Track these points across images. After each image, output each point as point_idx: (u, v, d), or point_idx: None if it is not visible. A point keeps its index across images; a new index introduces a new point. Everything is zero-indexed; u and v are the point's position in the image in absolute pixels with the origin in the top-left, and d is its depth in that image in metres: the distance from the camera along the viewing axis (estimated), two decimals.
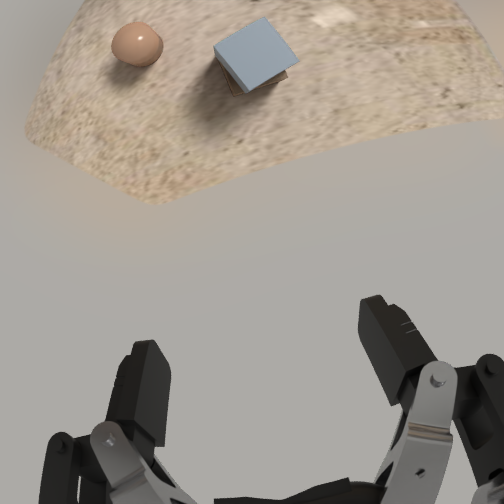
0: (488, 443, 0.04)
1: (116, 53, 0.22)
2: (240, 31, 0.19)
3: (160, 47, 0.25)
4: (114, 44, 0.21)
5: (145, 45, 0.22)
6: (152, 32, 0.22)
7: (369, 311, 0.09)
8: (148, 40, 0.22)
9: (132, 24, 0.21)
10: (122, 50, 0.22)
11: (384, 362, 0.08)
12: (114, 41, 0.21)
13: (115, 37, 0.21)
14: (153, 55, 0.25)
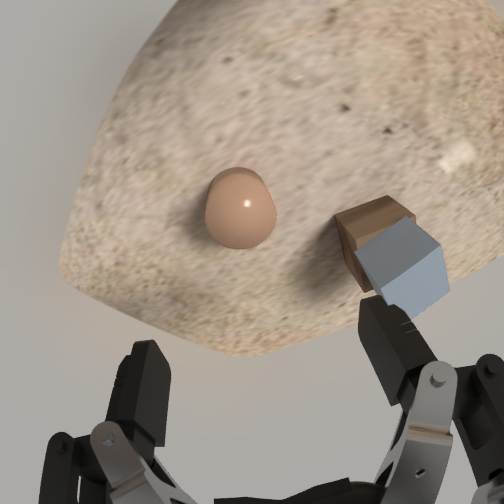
0: (488, 443, 0.04)
1: (215, 234, 0.20)
2: (413, 268, 0.17)
3: None
4: (210, 217, 0.19)
5: (262, 228, 0.20)
6: (273, 208, 0.20)
7: (369, 311, 0.09)
8: (267, 221, 0.20)
9: (239, 187, 0.19)
10: (224, 229, 0.20)
11: (384, 362, 0.08)
12: (209, 212, 0.19)
13: (210, 205, 0.19)
14: None
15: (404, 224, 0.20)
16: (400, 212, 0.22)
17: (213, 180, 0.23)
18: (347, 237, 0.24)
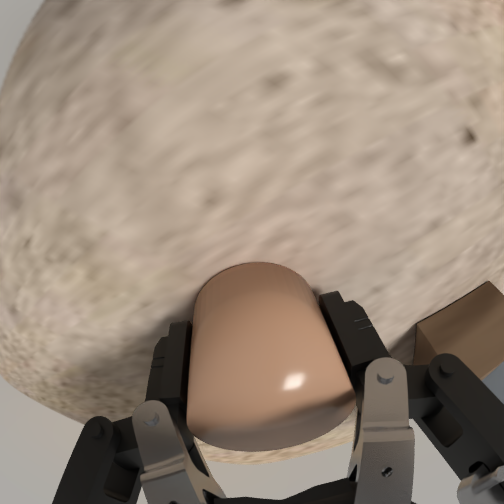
0: (459, 440, 0.05)
1: (213, 441, 0.07)
2: None
3: None
4: (200, 425, 0.07)
5: (318, 427, 0.08)
6: (352, 400, 0.07)
7: (325, 306, 0.10)
8: (332, 418, 0.07)
9: (278, 382, 0.06)
10: (235, 437, 0.07)
11: None
12: (197, 420, 0.07)
13: (199, 412, 0.06)
14: None
15: None
16: None
17: (203, 291, 0.10)
18: None
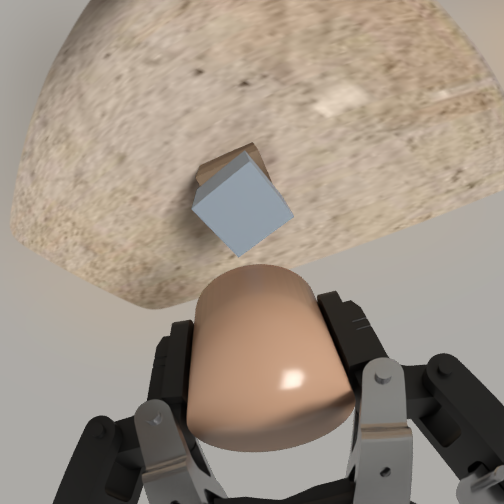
0: (458, 440, 0.05)
1: (213, 441, 0.08)
2: (221, 186, 0.20)
3: None
4: (199, 426, 0.07)
5: (318, 429, 0.08)
6: (351, 401, 0.07)
7: (323, 306, 0.10)
8: (331, 420, 0.07)
9: (277, 384, 0.06)
10: (235, 438, 0.07)
11: None
12: (197, 421, 0.07)
13: (199, 413, 0.07)
14: None
15: (238, 157, 0.23)
16: (248, 151, 0.25)
17: (204, 293, 0.10)
18: None
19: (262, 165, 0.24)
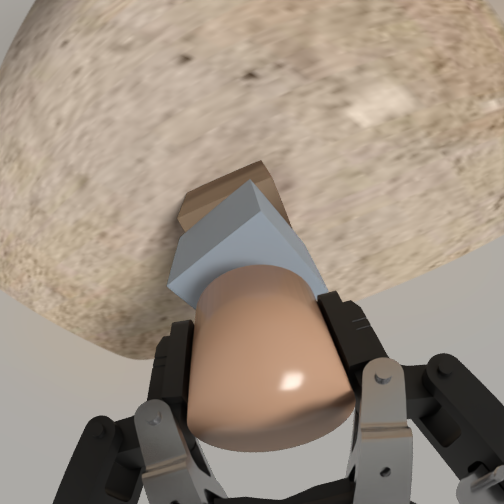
0: (458, 440, 0.05)
1: (214, 441, 0.08)
2: (212, 253, 0.12)
3: None
4: (200, 426, 0.07)
5: (318, 429, 0.08)
6: (352, 402, 0.07)
7: (323, 306, 0.10)
8: (332, 420, 0.07)
9: (277, 384, 0.06)
10: (235, 438, 0.07)
11: None
12: (198, 421, 0.07)
13: (199, 413, 0.07)
14: None
15: (240, 191, 0.15)
16: (255, 176, 0.17)
17: (204, 293, 0.10)
18: None
19: (277, 200, 0.16)
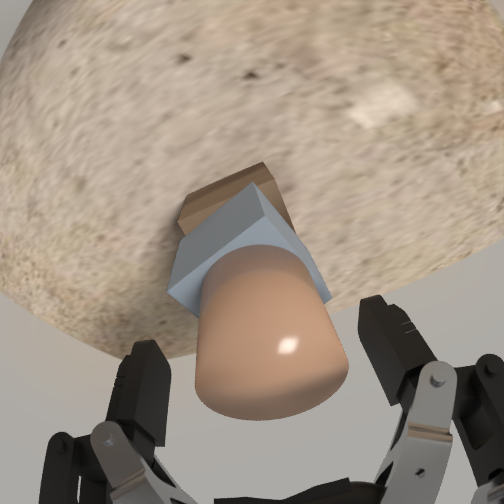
0: (488, 443, 0.04)
1: (218, 407, 0.09)
2: (214, 259, 0.12)
3: None
4: (206, 388, 0.08)
5: (315, 394, 0.09)
6: (345, 365, 0.08)
7: (369, 311, 0.09)
8: (327, 385, 0.09)
9: (277, 341, 0.07)
10: (238, 402, 0.09)
11: (384, 362, 0.08)
12: (205, 382, 0.08)
13: (206, 373, 0.08)
14: None
15: (243, 194, 0.15)
16: (257, 178, 0.16)
17: (210, 271, 0.12)
18: None
19: (280, 203, 0.16)
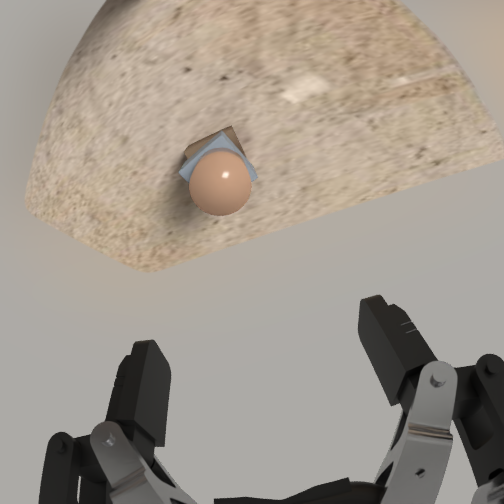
0: (488, 443, 0.04)
1: (198, 201, 0.23)
2: (200, 154, 0.25)
3: None
4: (193, 186, 0.22)
5: (239, 196, 0.23)
6: (249, 178, 0.22)
7: (369, 311, 0.09)
8: (244, 189, 0.23)
9: (219, 159, 0.21)
10: (206, 197, 0.23)
11: (384, 362, 0.08)
12: (193, 182, 0.22)
13: (194, 176, 0.22)
14: None
15: (216, 135, 0.29)
16: (225, 130, 0.30)
17: (199, 159, 0.25)
18: None
19: (236, 141, 0.30)
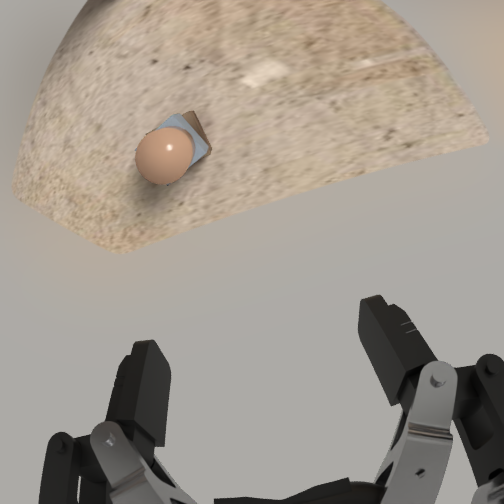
0: (488, 443, 0.04)
1: (142, 170, 0.23)
2: None
3: (193, 155, 0.27)
4: (139, 157, 0.23)
5: (179, 166, 0.23)
6: (188, 149, 0.23)
7: (369, 311, 0.09)
8: (183, 160, 0.23)
9: (161, 132, 0.22)
10: (150, 167, 0.23)
11: (384, 362, 0.08)
12: (138, 153, 0.22)
13: (139, 147, 0.22)
14: None
15: None
16: None
17: None
18: None
19: (193, 122, 0.31)
